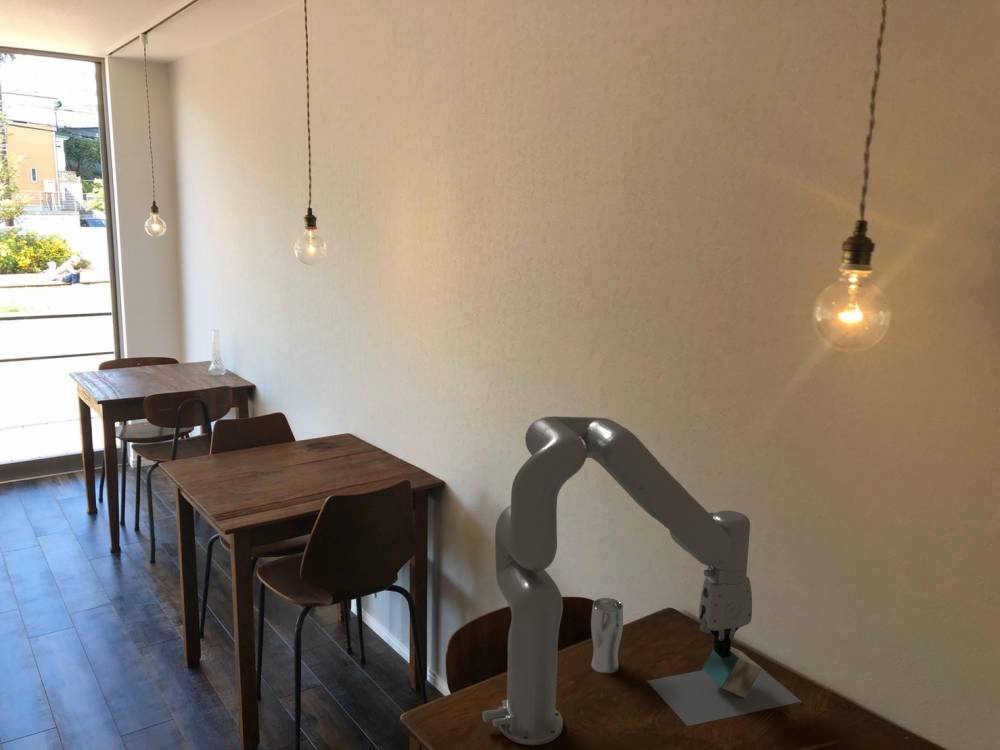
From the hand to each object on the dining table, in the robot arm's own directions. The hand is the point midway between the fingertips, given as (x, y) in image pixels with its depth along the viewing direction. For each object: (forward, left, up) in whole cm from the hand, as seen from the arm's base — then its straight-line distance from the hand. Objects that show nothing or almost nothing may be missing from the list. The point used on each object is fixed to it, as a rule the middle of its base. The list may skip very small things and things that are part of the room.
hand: (721, 654), depth 161 cm
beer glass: (-19, +16, -9) cm, 26 cm away
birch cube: (0, 0, -2) cm, 2 cm away
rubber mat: (+1, 0, -9) cm, 9 cm away
